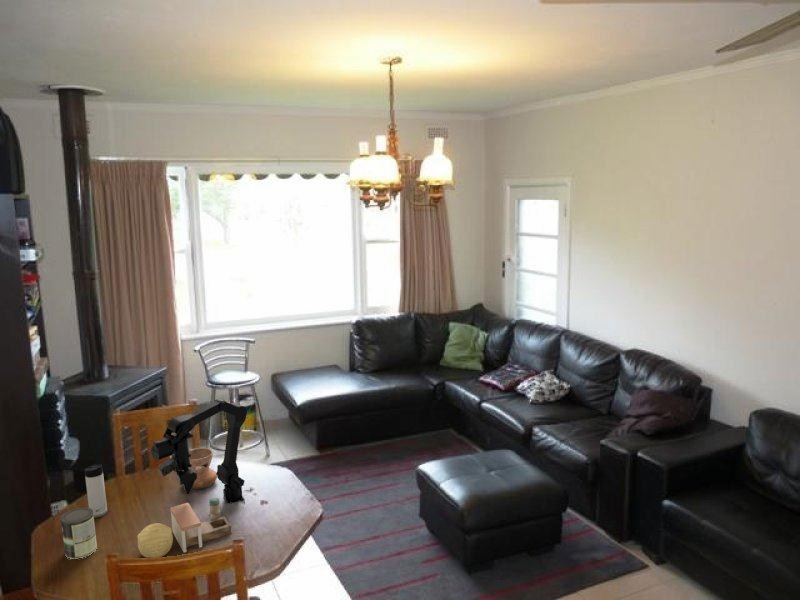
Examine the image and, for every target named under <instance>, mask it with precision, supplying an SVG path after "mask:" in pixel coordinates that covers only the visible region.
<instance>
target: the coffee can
mask: <svg viewBox="0 0 800 600" xmlns="http://www.w3.org/2000/svg"><path fill="white" fill-rule="evenodd" d="M60 524H61V533H62V539H63V546H64V556H66V557H67V558H66V557H65V558H66V559H68V558H70V559H69V560H71V559H78V558H82V559H84V558H83V557H85V558H87V557H86V556H88V557H90V556H92V555H93V554H94V553H95V552H96V551H97V550H98V546H97V545H98V544H97V536H96V535H97V534H96V526H95V517H93V510H92V509H90V508H89V507H77V508H73V509H70V510H68V511H66V512H65V513H63V514H62V515H61V516H60ZM96 549H97V550H96ZM93 552H94V553H93ZM92 553H93V554H92ZM91 554H92V555H91ZM89 555H90V556H89ZM78 560H79V559H78Z"/></svg>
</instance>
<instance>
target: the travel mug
mask: <svg viewBox="0 0 800 600" xmlns="http://www.w3.org/2000/svg"><path fill="white" fill-rule="evenodd" d="M103 470H104V469H103V464H101V463H96V464H93V465H92V464H91V465H89V466H88V467H86V468H84V478H85V485H86V486H85V487H86V494H87V501H88V503H87V504H88V508H90V509H92V510H93V517H94V518H101V517H103V516H105V515H106V514H107V513H108V505H107V498H106V497H107V496H106V488H105V479H104V471H103Z"/></svg>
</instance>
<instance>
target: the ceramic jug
mask: <svg viewBox="0 0 800 600" xmlns="http://www.w3.org/2000/svg"><path fill="white" fill-rule="evenodd" d="M189 452H190V454H191V457H190V462H191V464H192V467H188V468H189V469H193V470H195V472H196V473H197V479H196V480H195V482H194V484H193V486H192V489H191V490H200V489H204V488H207V487H210V486H211V485H213V484H214V483H215V482H216V481H217V479H218V478H217V475H216V473H217V471H216V470H214V469H212V468H210V465H211V463H212V461H213V460H212V459H213V454H214V452H213V450H212V449H210V448H206V447H197V448H191V449H189Z"/></svg>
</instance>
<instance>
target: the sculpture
mask: <svg viewBox="0 0 800 600" xmlns="http://www.w3.org/2000/svg"><path fill="white" fill-rule="evenodd" d="M136 538H137V548H138V551H139V553H140V554H141V556H143V557H144V558H147V559H149V558H148V557H159V558H162V557H164V556H165V555H167V554H168V553H169V552H170V551H171V548H172V546H173V543H174V542H173V541H174V534H173V530H172V527H169V526H167V525H166V524H164V523H159V522H156V523H151V524H149V525H147V526H145V527H144V528H143V529H142V530H141V531H140V533H139V534H137V537H136Z"/></svg>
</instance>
